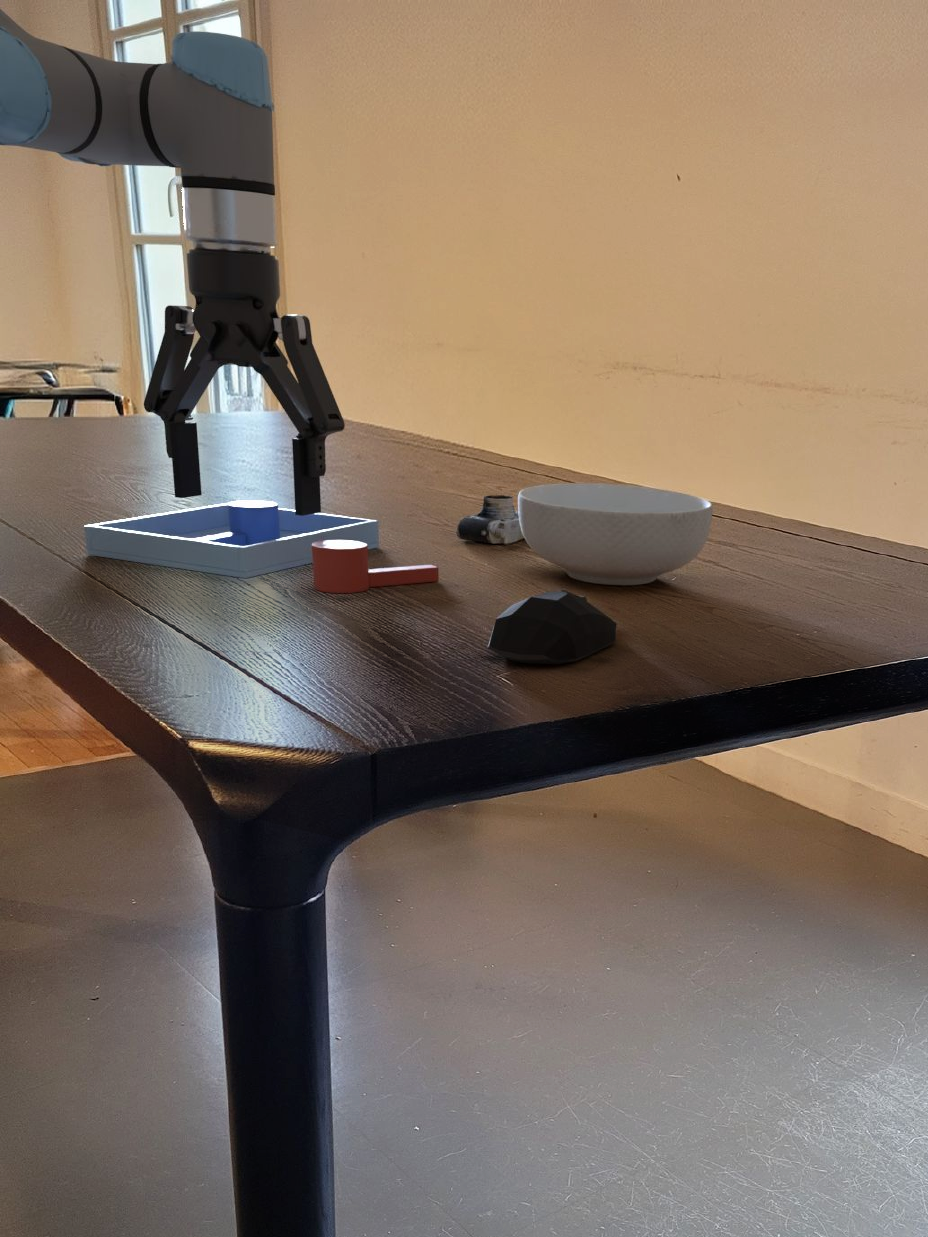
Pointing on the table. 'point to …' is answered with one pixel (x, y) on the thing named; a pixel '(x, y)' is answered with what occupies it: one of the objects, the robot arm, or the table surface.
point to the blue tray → (174, 545)
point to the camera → (492, 522)
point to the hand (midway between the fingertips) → (247, 505)
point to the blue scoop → (249, 523)
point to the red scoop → (359, 569)
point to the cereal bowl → (613, 530)
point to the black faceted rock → (551, 629)
